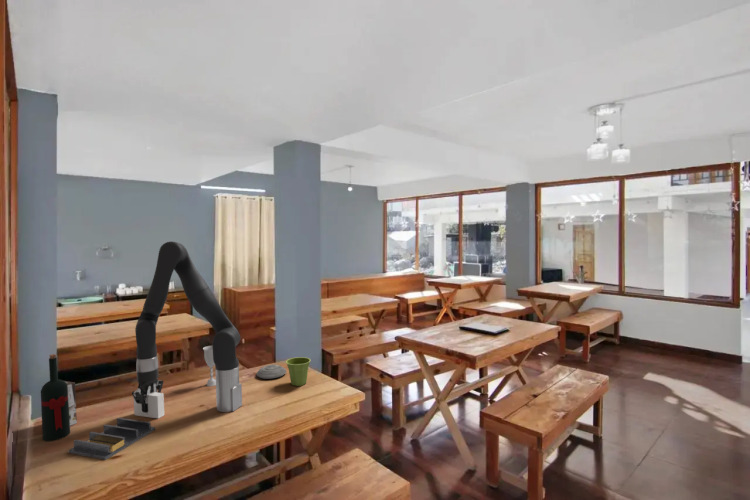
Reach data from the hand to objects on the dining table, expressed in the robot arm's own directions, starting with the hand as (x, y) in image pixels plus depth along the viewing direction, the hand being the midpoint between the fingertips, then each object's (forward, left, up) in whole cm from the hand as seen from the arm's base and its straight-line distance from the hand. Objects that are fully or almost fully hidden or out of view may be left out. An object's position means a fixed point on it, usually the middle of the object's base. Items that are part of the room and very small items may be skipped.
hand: (149, 409), depth 158 cm
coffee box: (+27, +15, -2) cm, 31 cm away
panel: (0, 0, -2) cm, 2 cm away
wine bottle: (+19, +22, -2) cm, 29 cm away
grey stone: (-25, -52, -3) cm, 58 cm away
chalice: (-3, -34, -2) cm, 34 cm away
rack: (-4, +19, -2) cm, 20 cm away
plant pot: (-44, -45, -2) cm, 63 cm away
